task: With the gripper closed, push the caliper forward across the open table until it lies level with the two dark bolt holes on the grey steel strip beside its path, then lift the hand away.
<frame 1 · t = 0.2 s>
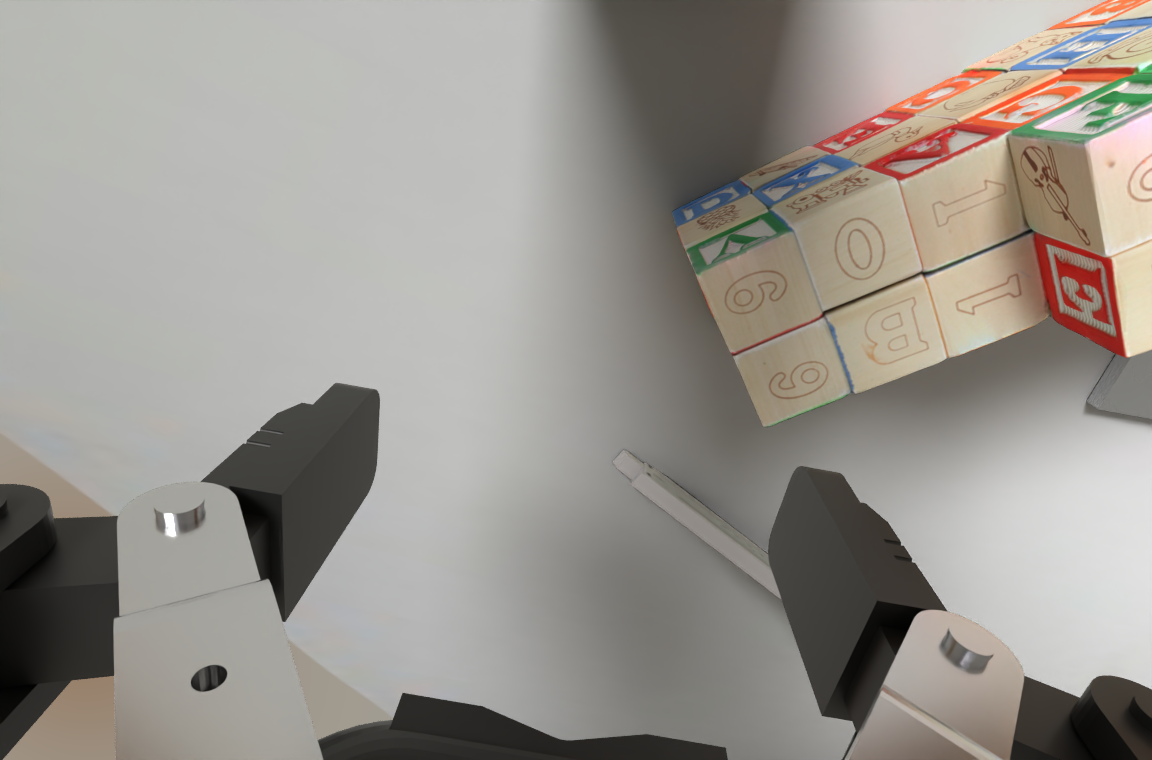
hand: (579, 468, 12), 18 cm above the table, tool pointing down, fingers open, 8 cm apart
stack of blocks: (936, 162, 26), on the table
caliper: (762, 542, 35), on the table
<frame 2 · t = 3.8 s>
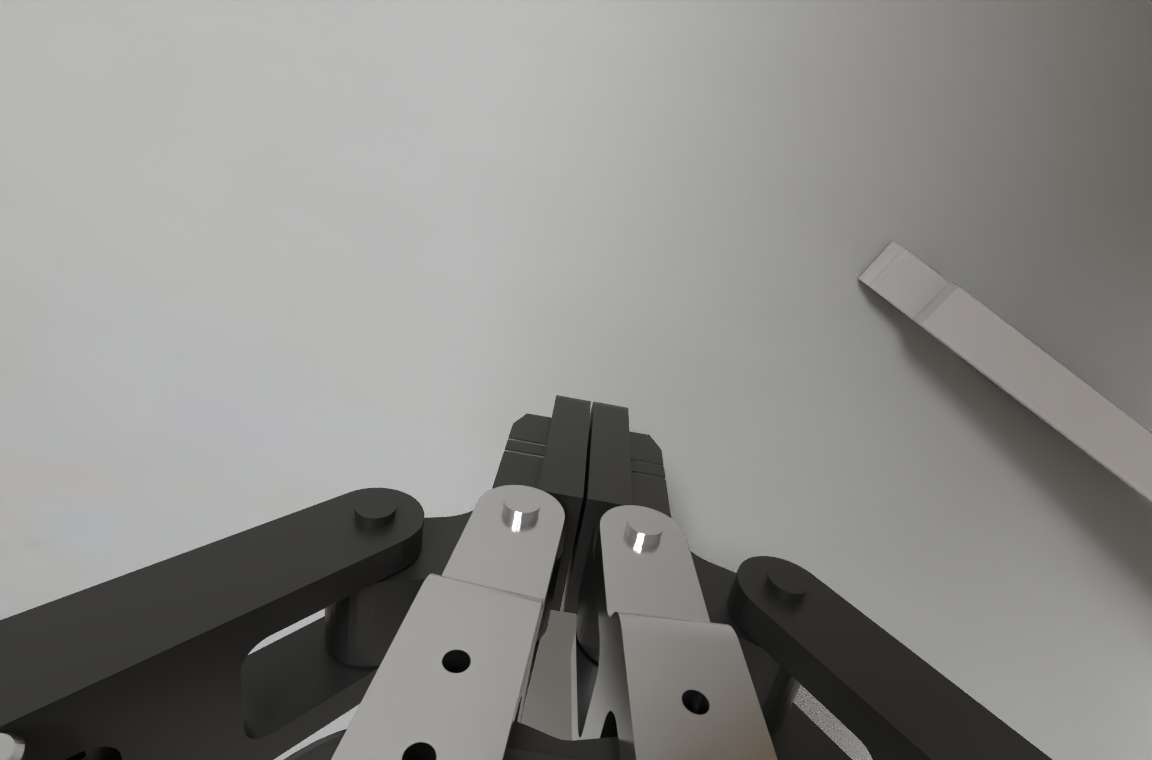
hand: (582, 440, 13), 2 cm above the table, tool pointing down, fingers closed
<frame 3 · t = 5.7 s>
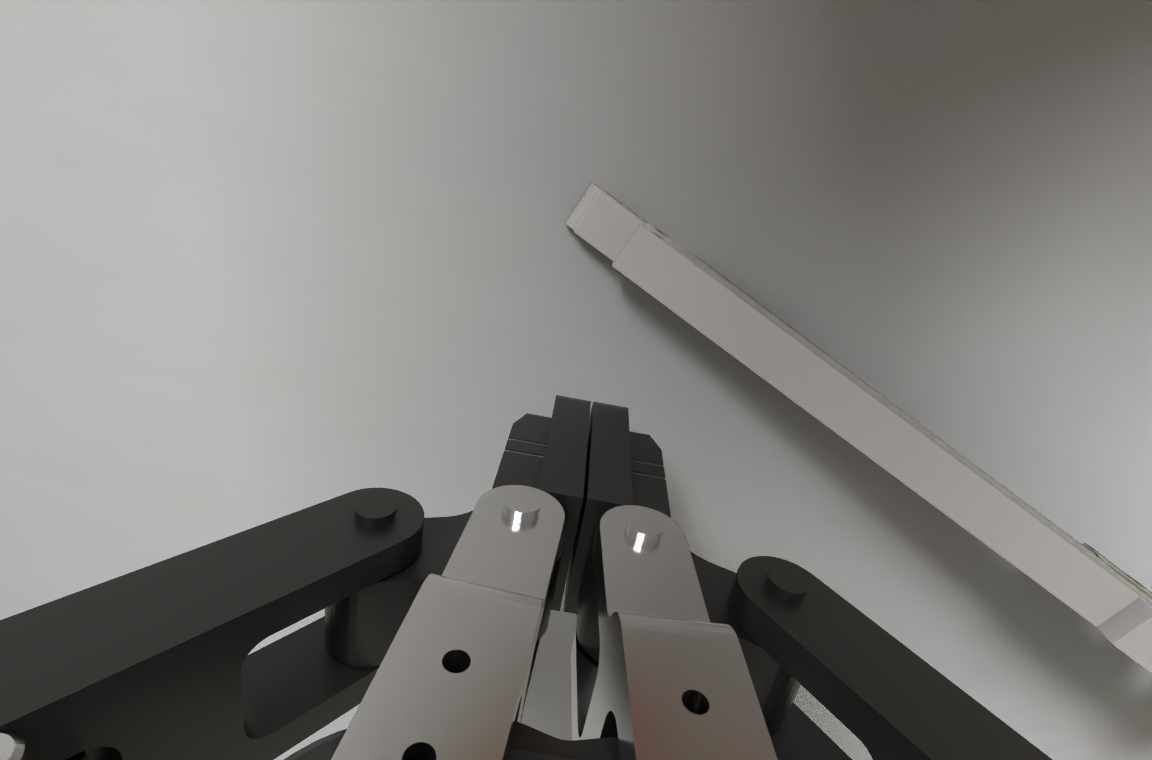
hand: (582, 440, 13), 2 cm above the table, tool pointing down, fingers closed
caliper: (922, 441, 15), on the table
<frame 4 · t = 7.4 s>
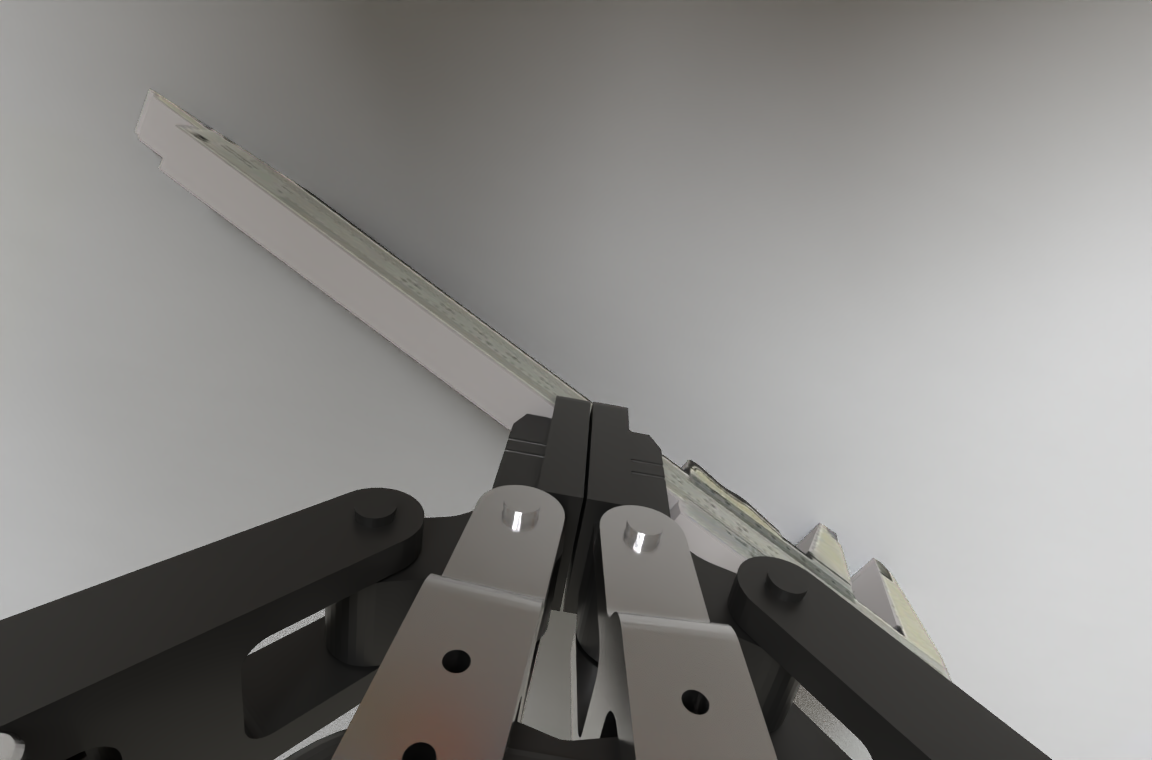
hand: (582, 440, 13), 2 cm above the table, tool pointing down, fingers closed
caliper: (555, 364, 15), on the table, touching gripper
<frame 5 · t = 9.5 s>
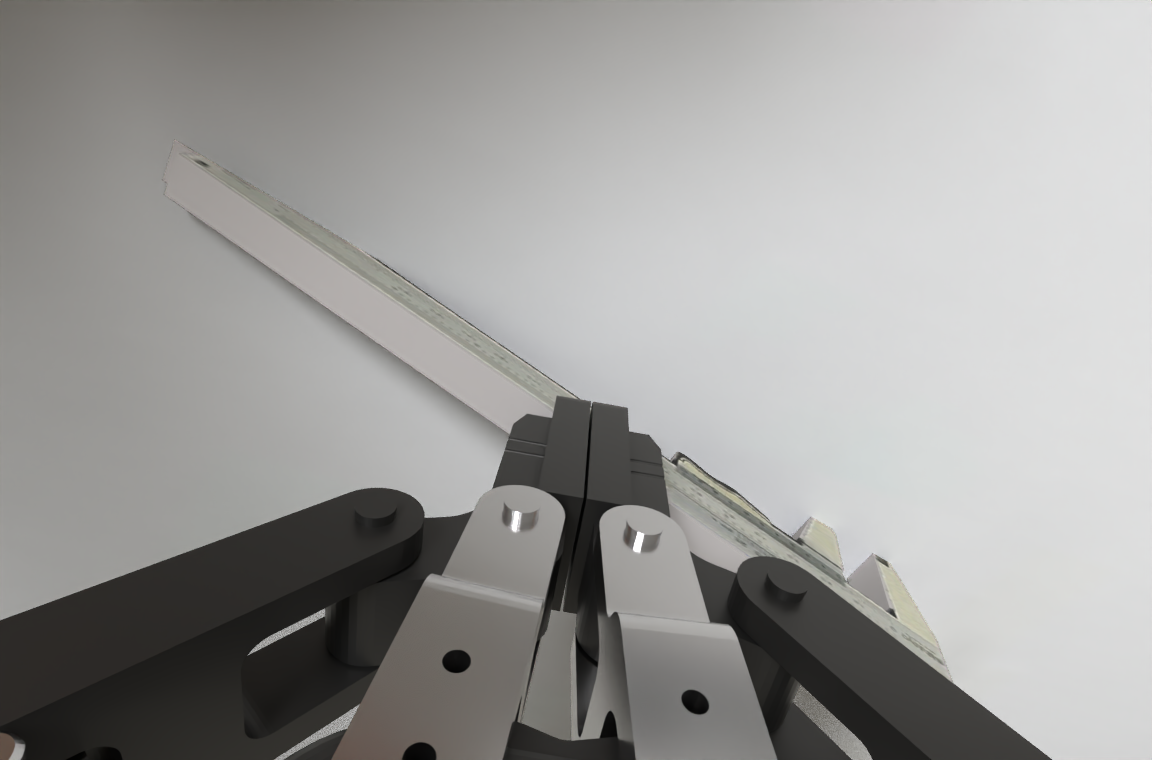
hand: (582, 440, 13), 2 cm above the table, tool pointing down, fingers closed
caliper: (547, 365, 16), on the table, touching gripper
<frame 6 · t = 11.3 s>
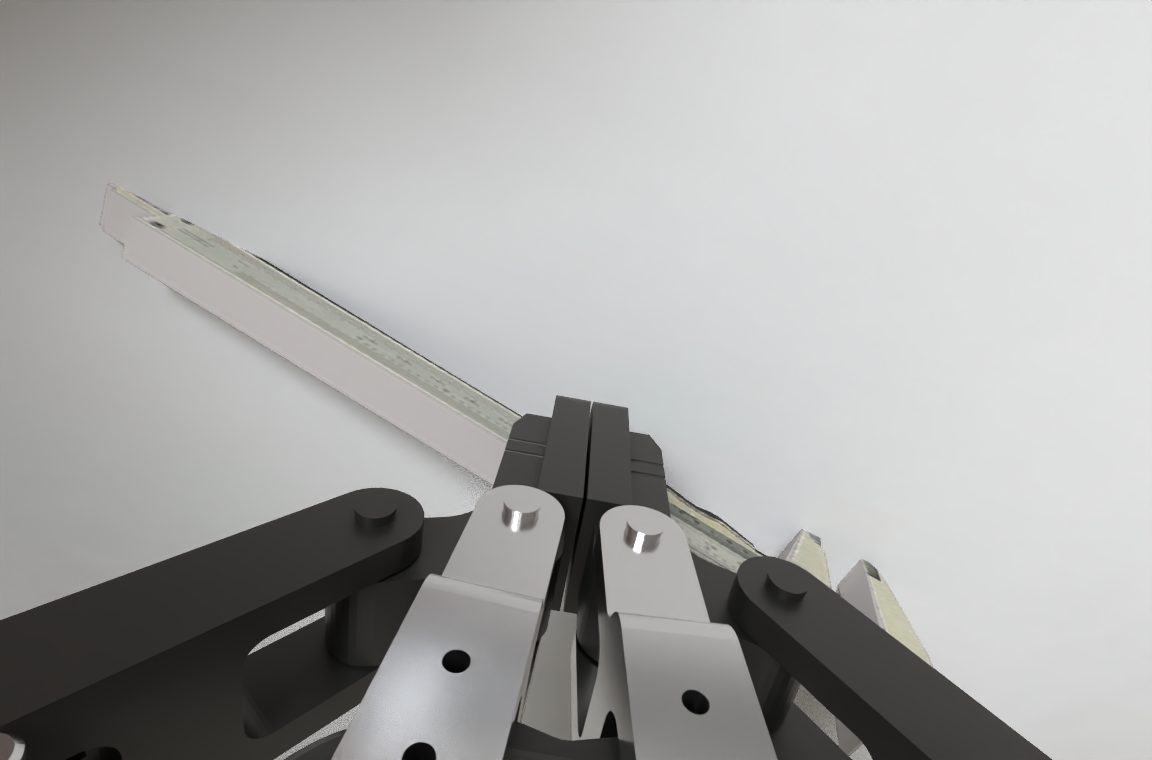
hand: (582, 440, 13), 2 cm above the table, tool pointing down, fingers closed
caliper: (523, 398, 15), on the table, touching gripper
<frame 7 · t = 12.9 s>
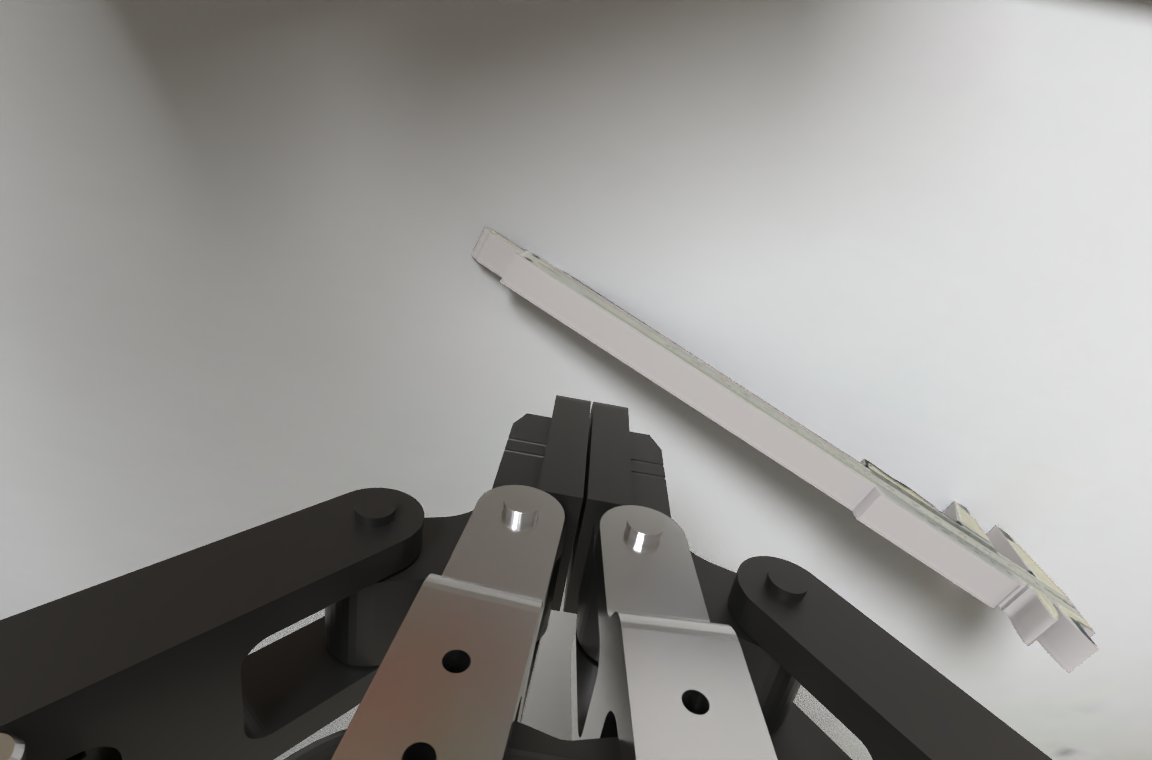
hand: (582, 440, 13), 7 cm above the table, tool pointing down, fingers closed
caliper: (751, 395, 21), on the table
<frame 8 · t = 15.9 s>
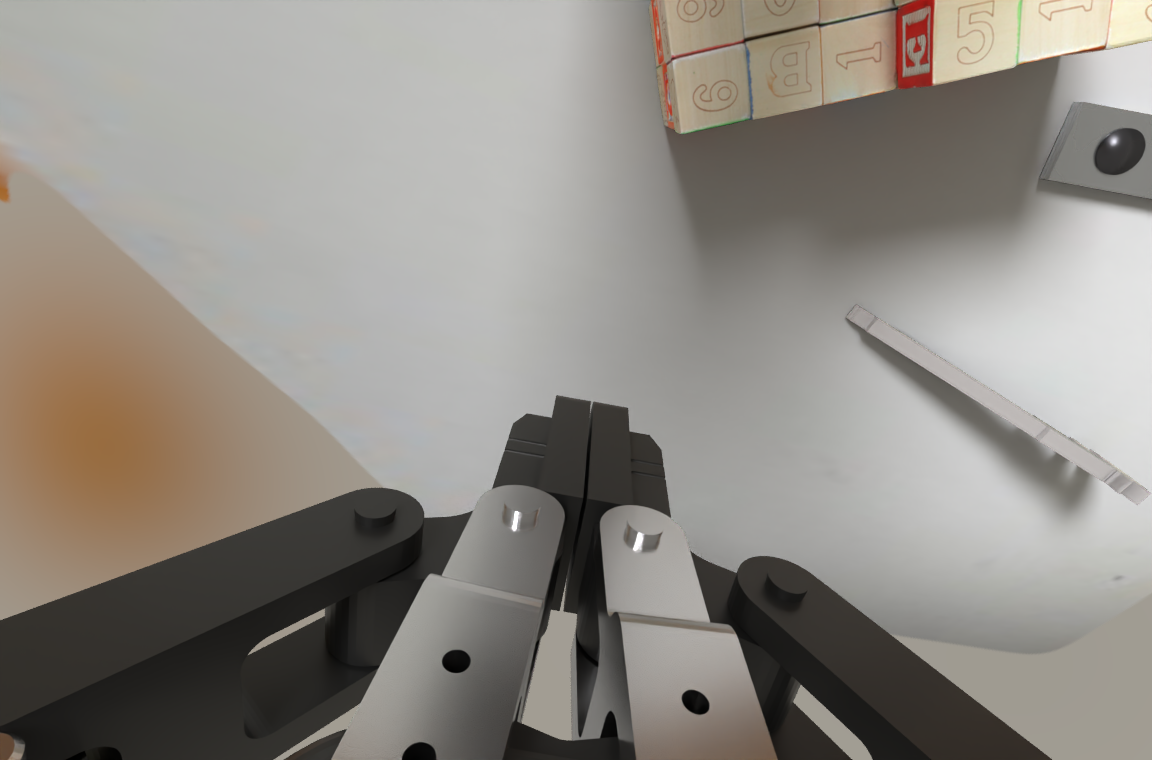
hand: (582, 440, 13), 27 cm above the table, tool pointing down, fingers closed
stack of blocks: (852, 27, 33), on the table
caliper: (971, 384, 41), on the table
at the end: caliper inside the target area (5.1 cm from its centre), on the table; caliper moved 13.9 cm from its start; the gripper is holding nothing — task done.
